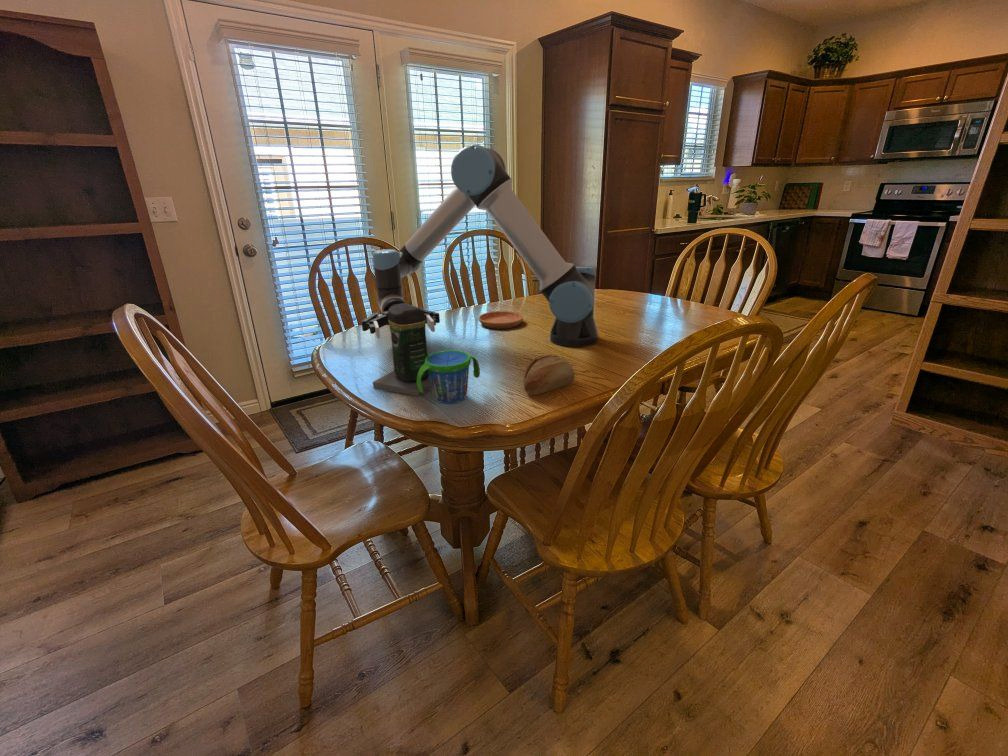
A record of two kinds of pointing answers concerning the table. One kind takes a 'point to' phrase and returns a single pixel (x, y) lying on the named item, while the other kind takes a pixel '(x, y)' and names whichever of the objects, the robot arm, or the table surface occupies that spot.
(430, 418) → the table surface
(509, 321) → the saucer
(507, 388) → the table surface
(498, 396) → the table surface
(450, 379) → the snack cup
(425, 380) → the stand
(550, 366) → the bread roll
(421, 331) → the coffee jar
